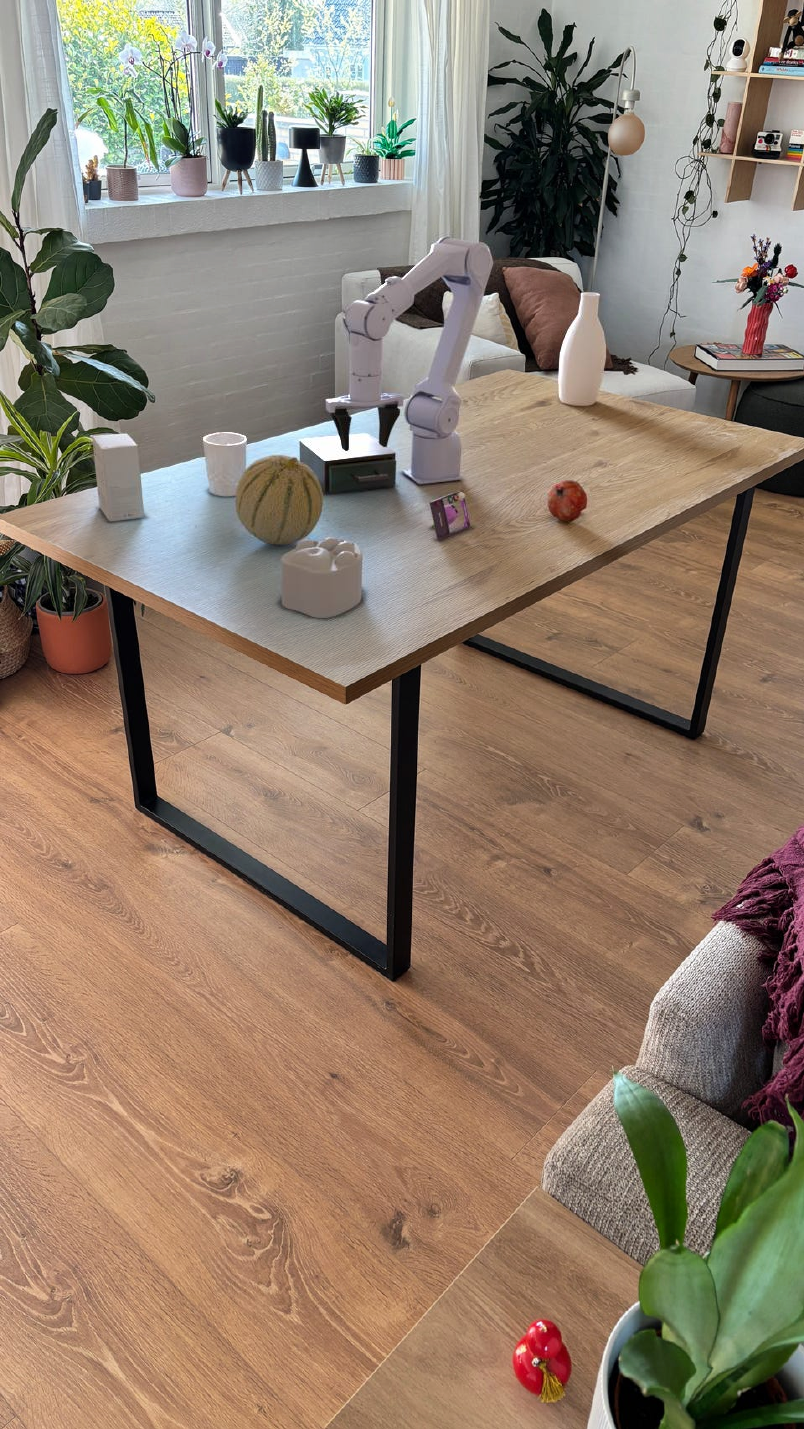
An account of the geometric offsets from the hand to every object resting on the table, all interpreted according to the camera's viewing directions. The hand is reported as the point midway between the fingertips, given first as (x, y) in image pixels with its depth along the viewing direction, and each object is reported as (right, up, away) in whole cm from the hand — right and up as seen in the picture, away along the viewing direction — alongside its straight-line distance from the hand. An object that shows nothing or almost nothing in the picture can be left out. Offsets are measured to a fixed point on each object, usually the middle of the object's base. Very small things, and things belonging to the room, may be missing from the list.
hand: (364, 447), depth 201 cm
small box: (-43, -14, -7) cm, 46 cm away
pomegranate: (+37, -14, -1) cm, 40 cm away
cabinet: (-4, -3, +13) cm, 14 cm away
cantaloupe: (-14, -20, -16) cm, 29 cm away
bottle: (+51, +28, +70) cm, 91 cm away
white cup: (-26, -7, +5) cm, 27 cm away
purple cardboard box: (+15, -17, -9) cm, 24 cm away
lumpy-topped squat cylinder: (-5, -32, -35) cm, 47 cm away
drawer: (-2, -5, +9) cm, 10 cm away
